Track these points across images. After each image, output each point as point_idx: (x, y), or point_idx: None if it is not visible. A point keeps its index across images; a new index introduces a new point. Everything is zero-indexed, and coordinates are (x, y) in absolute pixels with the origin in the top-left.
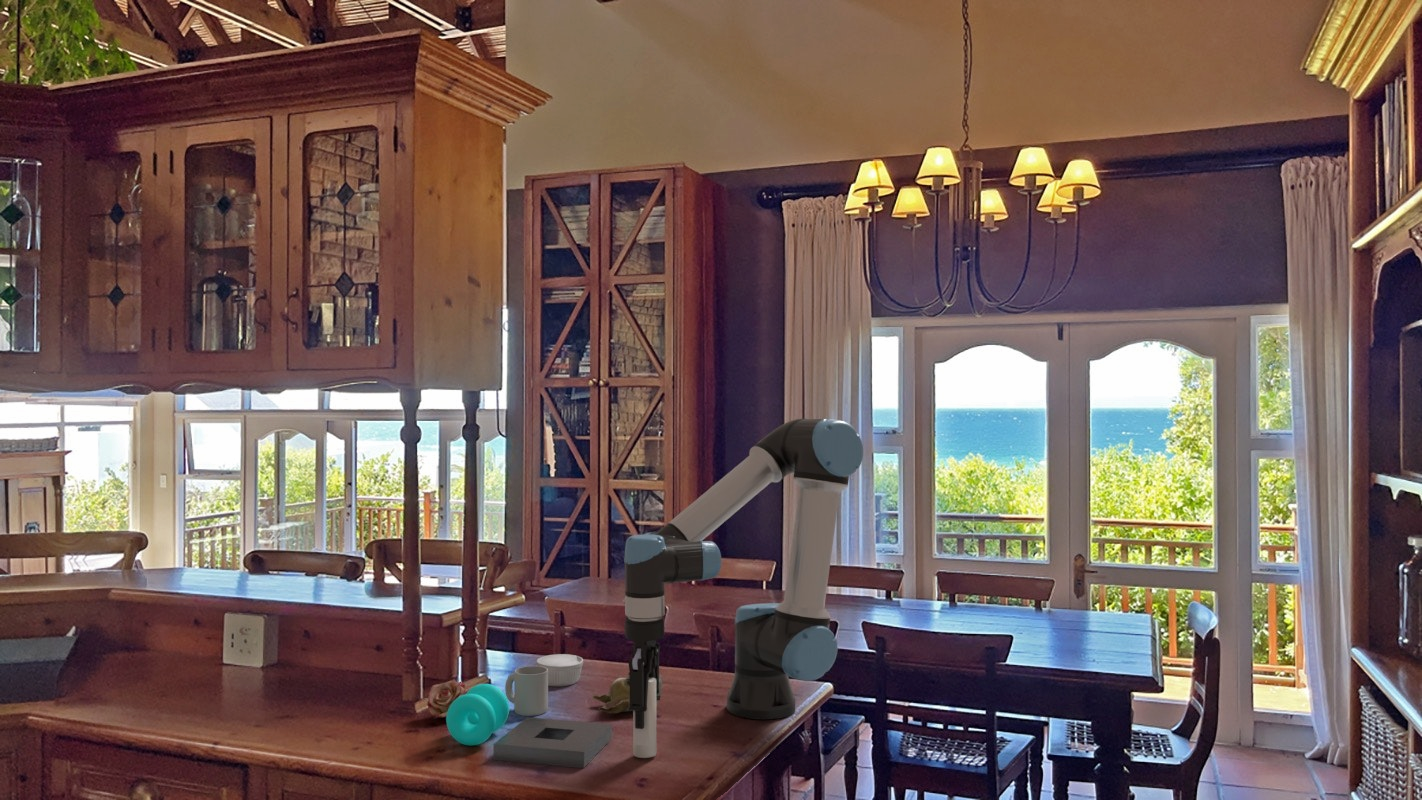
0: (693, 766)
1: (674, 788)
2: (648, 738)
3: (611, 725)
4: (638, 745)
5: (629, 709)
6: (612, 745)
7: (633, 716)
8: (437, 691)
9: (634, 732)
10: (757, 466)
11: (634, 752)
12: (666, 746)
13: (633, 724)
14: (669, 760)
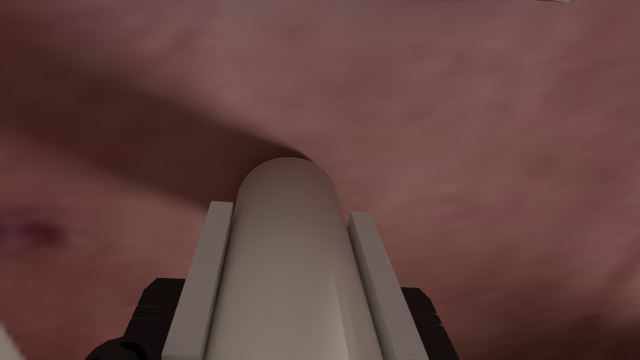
0: None
1: (8, 337)
2: None
3: (561, 1)
4: (235, 213)
5: (95, 353)
6: (425, 23)
7: (259, 276)
8: None
9: (199, 242)
10: None
11: (253, 173)
12: (410, 248)
13: (262, 240)
14: None
